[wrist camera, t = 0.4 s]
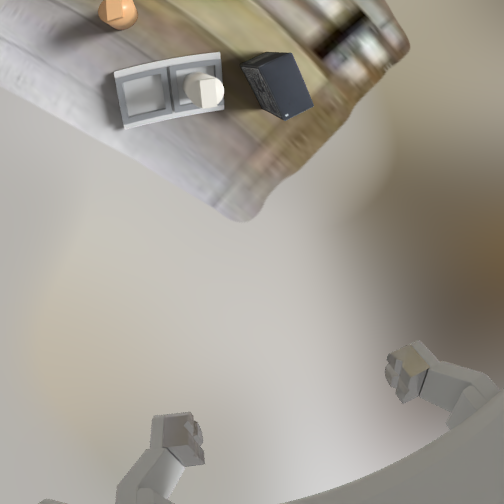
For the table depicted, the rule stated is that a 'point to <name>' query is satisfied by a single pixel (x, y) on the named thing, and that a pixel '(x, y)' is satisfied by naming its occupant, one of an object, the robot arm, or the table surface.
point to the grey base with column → (170, 89)
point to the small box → (277, 84)
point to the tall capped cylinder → (118, 13)
